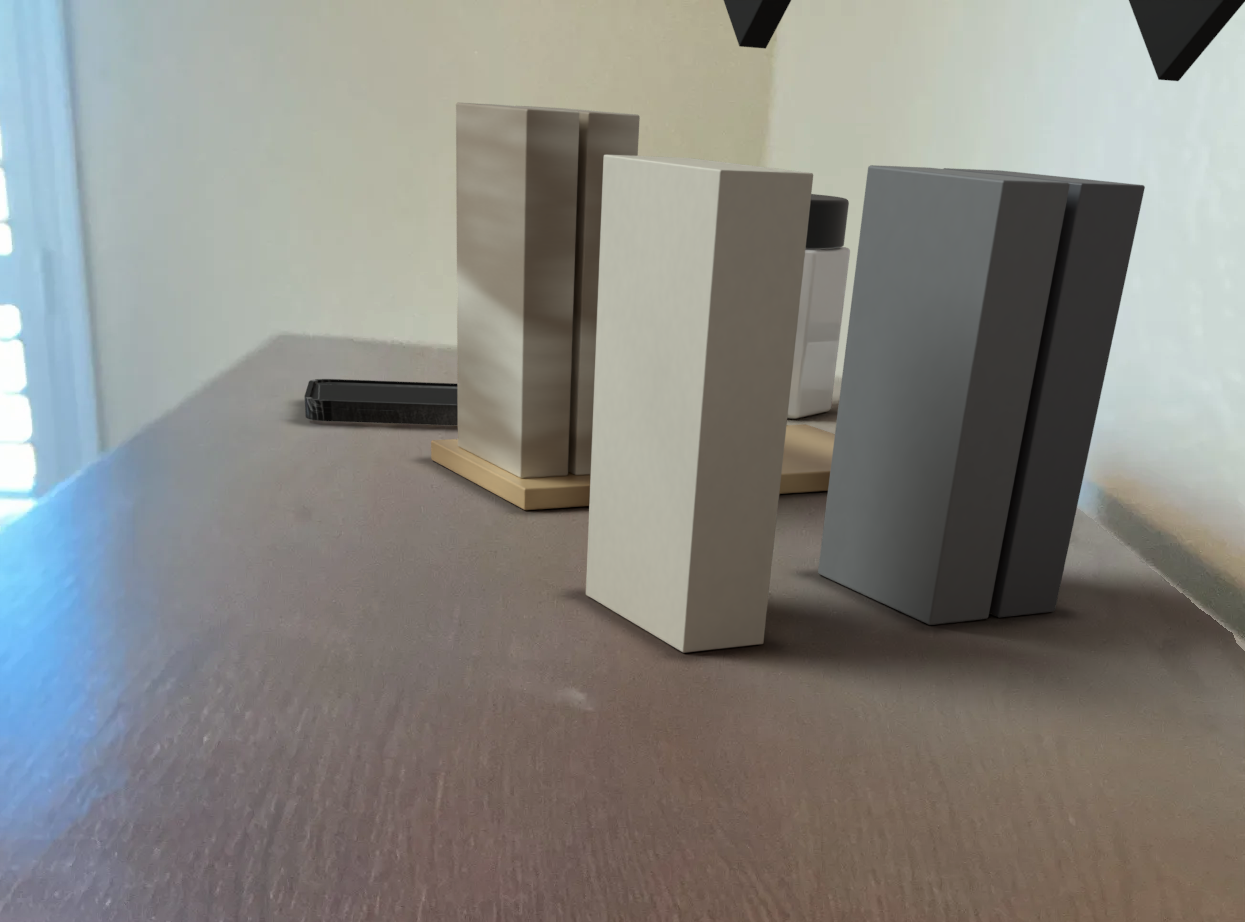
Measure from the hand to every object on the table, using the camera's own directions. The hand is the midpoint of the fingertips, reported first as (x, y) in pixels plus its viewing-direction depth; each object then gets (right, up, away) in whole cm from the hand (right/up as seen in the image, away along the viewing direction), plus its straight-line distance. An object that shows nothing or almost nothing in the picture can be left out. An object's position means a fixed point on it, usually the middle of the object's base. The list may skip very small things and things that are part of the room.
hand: (957, 22), depth 40 cm
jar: (+1, +19, +61) cm, 64 cm away
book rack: (-5, +7, +43) cm, 43 cm away
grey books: (+5, -6, +25) cm, 26 cm away
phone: (-20, +15, +53) cm, 58 cm away
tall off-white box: (-7, -9, +20) cm, 23 cm away
